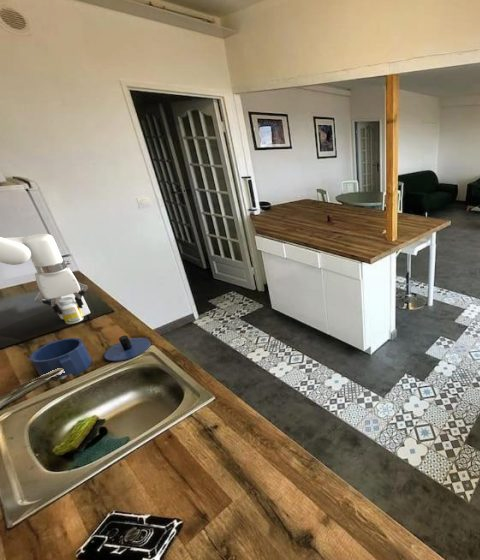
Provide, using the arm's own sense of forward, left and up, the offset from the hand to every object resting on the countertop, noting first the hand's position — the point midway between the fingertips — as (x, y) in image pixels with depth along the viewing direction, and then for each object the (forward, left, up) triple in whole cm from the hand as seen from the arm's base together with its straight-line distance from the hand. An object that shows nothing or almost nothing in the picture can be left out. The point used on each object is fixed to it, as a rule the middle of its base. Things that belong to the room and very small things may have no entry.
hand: (70, 309), depth 121 cm
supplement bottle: (0, 0, -5) cm, 5 cm away
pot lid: (+7, -29, -10) cm, 31 cm away
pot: (-9, -24, -11) cm, 28 cm away
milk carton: (+3, +18, -11) cm, 21 cm away
